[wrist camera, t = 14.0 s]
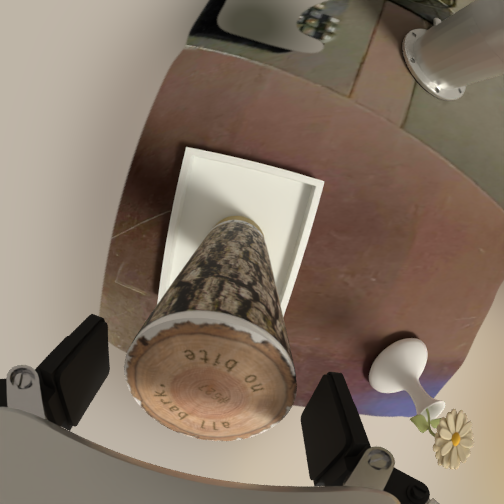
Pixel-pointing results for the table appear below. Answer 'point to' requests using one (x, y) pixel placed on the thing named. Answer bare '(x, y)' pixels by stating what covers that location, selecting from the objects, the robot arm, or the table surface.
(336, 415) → the robot arm
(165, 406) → the paper tube
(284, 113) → the table surface
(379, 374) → the flower in vase
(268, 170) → the tray
